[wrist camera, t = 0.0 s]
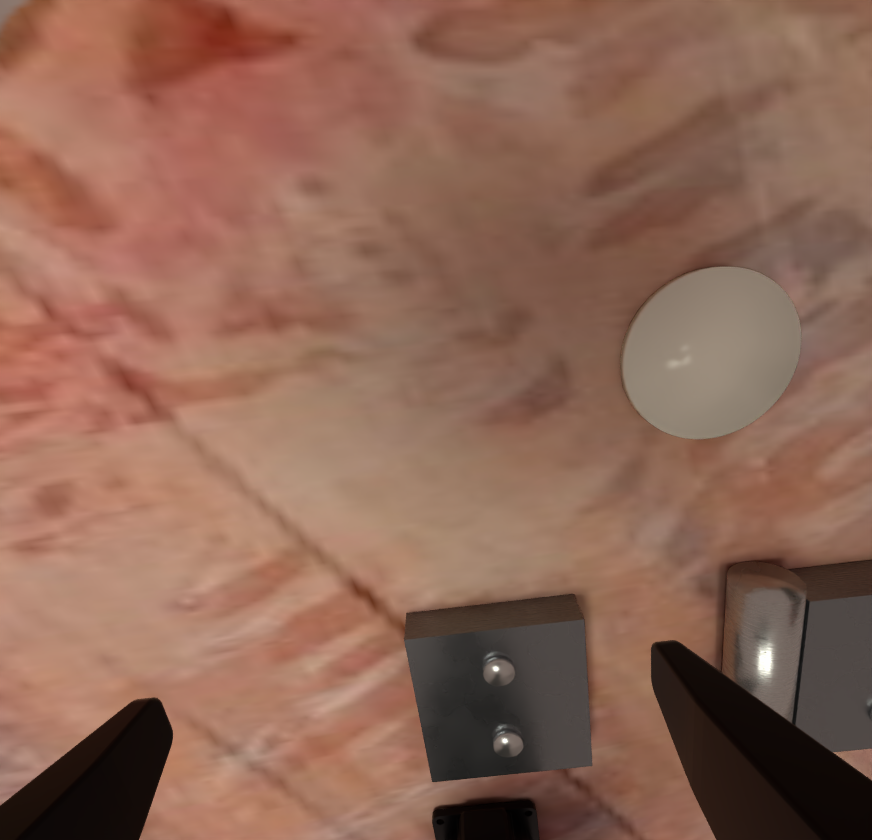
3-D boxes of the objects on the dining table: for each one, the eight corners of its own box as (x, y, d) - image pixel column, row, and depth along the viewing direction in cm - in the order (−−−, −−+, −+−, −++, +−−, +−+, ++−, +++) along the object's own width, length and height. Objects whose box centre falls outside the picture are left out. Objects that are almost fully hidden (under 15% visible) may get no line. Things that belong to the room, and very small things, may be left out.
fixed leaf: (920, 710, 28) (979, 765, 25) (706, 732, 28) (739, 788, 25) (957, 537, 24) (1032, 575, 21) (713, 565, 25) (752, 607, 22)
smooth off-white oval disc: (784, 423, 23) (793, 427, 22) (621, 444, 23) (626, 449, 22) (798, 254, 20) (809, 254, 20) (617, 280, 21) (623, 280, 20)
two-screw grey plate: (580, 726, 29) (594, 771, 26) (432, 741, 29) (432, 787, 27) (571, 588, 26) (586, 623, 23) (407, 607, 26) (403, 644, 24)
